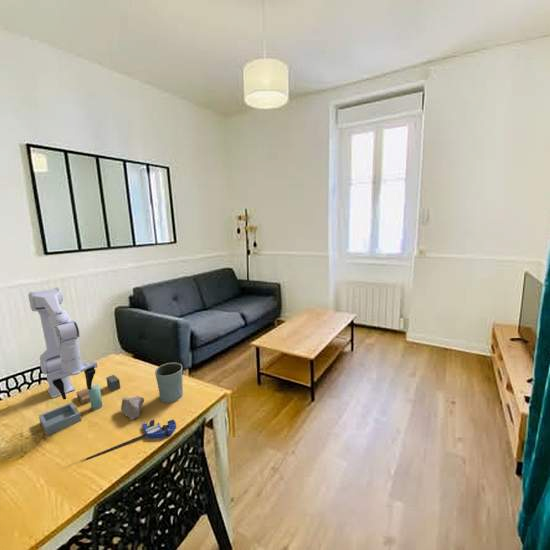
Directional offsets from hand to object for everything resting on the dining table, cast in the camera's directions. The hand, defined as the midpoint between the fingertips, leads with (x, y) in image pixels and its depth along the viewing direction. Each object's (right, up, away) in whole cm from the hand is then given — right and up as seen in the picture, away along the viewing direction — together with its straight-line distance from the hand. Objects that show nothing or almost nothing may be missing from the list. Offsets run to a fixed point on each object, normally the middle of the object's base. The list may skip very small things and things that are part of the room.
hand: (77, 393), depth 107 cm
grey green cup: (+29, -7, +14) cm, 32 cm away
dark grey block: (+1, -6, +22) cm, 23 cm away
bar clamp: (+21, -12, -11) cm, 27 cm away
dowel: (+2, -8, +9) cm, 12 cm away
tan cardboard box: (-5, -8, +15) cm, 18 cm away
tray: (-6, -10, +1) cm, 12 cm away
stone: (+18, -9, +5) cm, 20 cm away
